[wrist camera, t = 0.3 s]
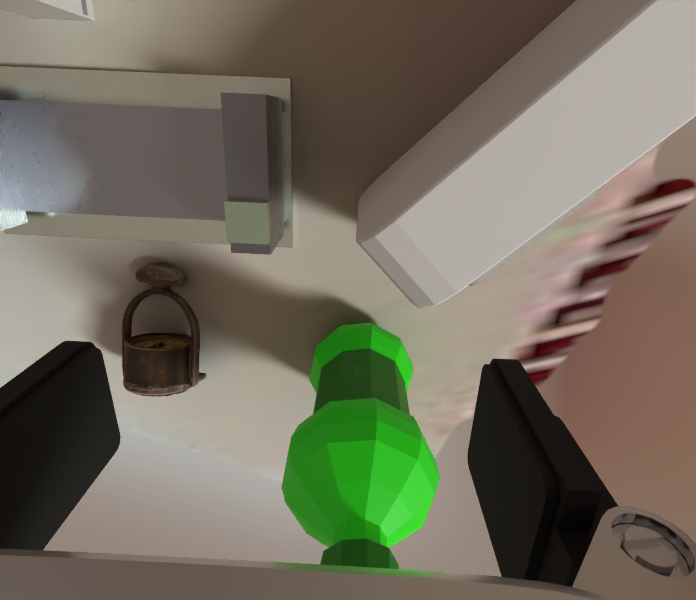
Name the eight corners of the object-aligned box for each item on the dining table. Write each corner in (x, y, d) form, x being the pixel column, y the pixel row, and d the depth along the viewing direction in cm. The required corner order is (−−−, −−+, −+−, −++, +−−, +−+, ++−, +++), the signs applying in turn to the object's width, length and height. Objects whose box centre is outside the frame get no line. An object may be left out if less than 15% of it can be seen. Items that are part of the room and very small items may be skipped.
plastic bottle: (421, 316, 43) (488, 544, 20) (396, 401, 47) (427, 674, 24) (322, 296, 42) (272, 507, 19) (305, 384, 46) (248, 646, 23)
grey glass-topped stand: (-36, 65, 35) (-151, 49, 28) (291, 79, 35) (270, 67, 27) (9, 232, 41) (-76, 259, 33) (292, 245, 40) (275, 276, 33)
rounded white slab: (411, 256, 41) (443, 352, 24) (357, 194, 39) (353, 252, 22) (709, 17, 33) (1068, -88, 16) (661, -77, 30) (1017, -311, 14)
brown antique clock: (76, 382, 41) (165, 434, 40) (92, 270, 35) (197, 329, 34) (131, 346, 47) (208, 391, 47) (152, 247, 42) (241, 296, 41)
